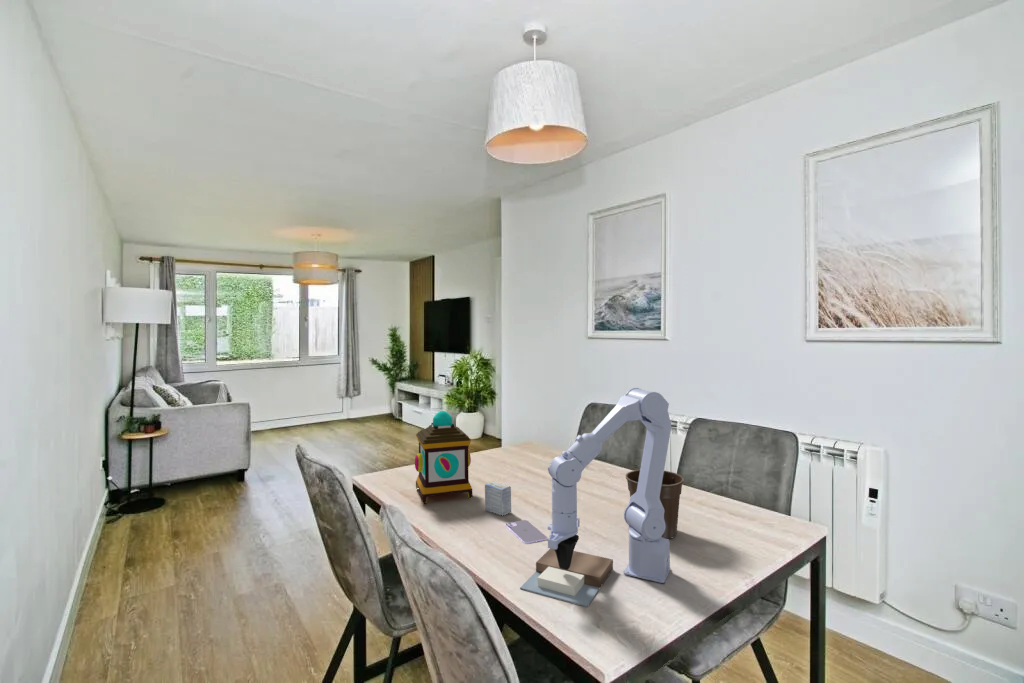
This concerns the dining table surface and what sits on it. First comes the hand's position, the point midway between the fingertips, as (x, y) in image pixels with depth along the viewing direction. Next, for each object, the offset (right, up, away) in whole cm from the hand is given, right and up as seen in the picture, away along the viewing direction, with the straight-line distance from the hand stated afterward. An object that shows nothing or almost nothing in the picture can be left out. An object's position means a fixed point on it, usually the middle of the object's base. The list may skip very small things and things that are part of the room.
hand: (564, 567), depth 115 cm
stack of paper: (-17, -3, +45) cm, 48 cm away
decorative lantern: (-37, -2, +63) cm, 73 cm away
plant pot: (+29, -3, +29) cm, 41 cm away
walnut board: (+3, -3, +6) cm, 7 cm away
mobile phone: (-8, -4, +29) cm, 30 cm away
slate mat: (-1, -4, -3) cm, 5 cm away
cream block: (-1, -3, -1) cm, 4 cm away
